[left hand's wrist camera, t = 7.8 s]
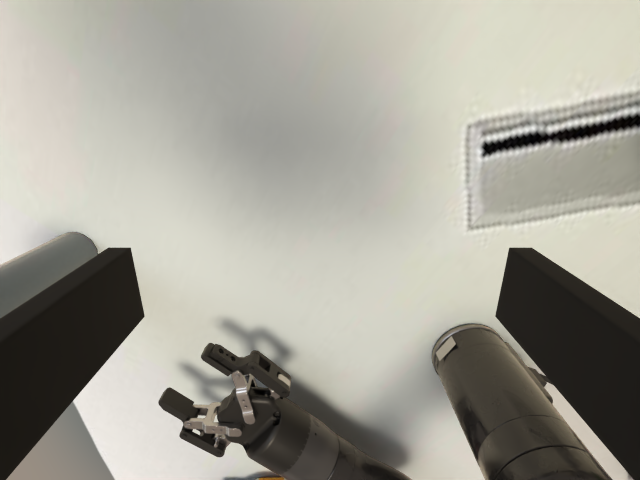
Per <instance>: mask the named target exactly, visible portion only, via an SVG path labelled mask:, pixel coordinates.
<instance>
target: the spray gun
mask: <svg viewBox="0 0 640 480" xmlns="http://www.w3.org/2000/svg"><path fill="white" fill-rule="evenodd" d="M255 480H286V479H285V478H283V477H280V478H258V479H255Z"/></svg>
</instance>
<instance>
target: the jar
mask: <svg viewBox="0 0 640 480" xmlns="http://www.w3.org/2000/svg"><path fill="white" fill-rule="evenodd" d="M97 255H98V254H97V249H96V247H95V245H94V244H93V242H92V241H91V240H90V239H89V238H88V237H86V236H84V235H82V234H80V233H76V232H68V233H65V234H63V235H60V236H58V237H56V238H54V239H52V240H50V241H48V242H46V243H44V244H42V245H40V246H38V247H36V248H34V249H32V250H30V251H28V252H26V253H24V254H21V255H19V256H17V257H15V258H13V259H11V260H9V261H7V262H5V263H3V264H1V265H0V318H2V317H3V316H5V315H6V314H8V313H9V312H11V311H12V310H14V309H16V308H17V307H19V306H20V305H22V304H23V303H25V302H26V301H28V300H29V299H31V298H32V297H34V296H35V295H37V294H39V293H40V292H42V291H43V290H45V289H46V288H48V287H49V286H51V285H52V284H54V283H55V282H57V281H58V280H60V279H61V278H63V277H65V276H66V275H68V274H69V273H71V272H72V271H74V270H75V269H77V268H78V267H80V266H81V265H83V264H84V263H86V262H88V261H89V260H91V259H92V258H94V257H95V256H97Z"/></svg>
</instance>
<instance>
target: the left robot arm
mask: <svg viewBox="0 0 640 480" xmlns="http://www.w3.org/2000/svg"><path fill="white" fill-rule="evenodd" d="M143 318H144V311H143V306H142V301H141V296H140V292H139V287H138V282H137V277H136V272H135V267H134V262H133V257H132V252H131V248H107V249H106V250H104V251H103V252H101V253H100V254H98V255H97V256H95V257H94V258H92V259H91V260H89V261H88V262H86V263H84V264H83V265H81V266H80V267H78V268H77V269H75V270H74V271H72V272H71V273H69V274H68V275H66V276H65V277H63V278H61V279H60V280H58V281H57V282H55V283H54V284H52V285H51V286H49V287H48V288H46V289H45V290H43V291H42V292H40V293H39V294H37V295H35V296H34V297H32V298H31V299H29V300H28V301H26V302H25V303H23V304H22V305H20V306H19V307H17V308H16V309H14V310H12V311H11V312H9V313H8V314H6V315H5V316H3V317H2V318H0V480H6V479H7V478H8V476H9V475H10V474H11V473H12V472H13V471H14V469H15V468H16V467H17V466H18V465H19V464H20V462H21V461H22V460H23V459H24V458H25V456H26V455H27V454H28V453H29V452H30V451H31V449H32V448H33V447H34V446H35V445H36V444H37V442H38V441H39V440H40V439H41V438H42V436H43V435H44V434H45V433H46V432H47V431H48V429H49V428H50V427H51V426H52V425H53V424H54V422H55V421H56V420H57V419H58V418H59V416H60V415H61V414H62V413H63V412H64V411H65V409H66V408H67V407H68V406H69V405H70V404H71V402H72V401H73V400H74V399H75V398H76V396H77V395H78V394H79V393H80V392H81V391H82V389H83V388H84V387H85V386H86V385H87V383H88V382H89V381H90V380H91V379H92V378H93V376H94V375H95V374H96V373H97V372H98V371H99V369H100V368H101V367H102V366H103V365H104V363H105V362H106V361H107V360H108V359H109V358H110V356H111V355H112V354H113V353H114V352H115V351H116V349H117V348H118V347H119V346H120V345H121V343H122V342H123V341H124V340H125V339H126V338H127V336H128V335H129V334H130V333H131V332H132V331H133V329H134V328H135V327H136V326H137V325H138V323H139V322H140V321H141V320H142V319H143ZM496 318H497V319H498V320H499V321H500V322H501V323H502V325H503V326H504V327H505V328H506V329H507V331H508V332H509V333H510V334H511V335H512V336H513V338H514V339H515V340H516V341H517V342H518V343H519V345H520V346H521V347H522V348H523V349H524V351H525V352H526V353H527V354H528V355H529V356H530V358H531V359H532V360H533V361H534V362H535V363H536V365H537V366H538V367H539V368H540V369H541V371H542V372H543V373H544V374H545V375H546V376H547V378H548V379H549V380H550V381H551V382H552V383H553V385H554V386H555V387H556V388H557V389H558V391H559V392H560V393H561V394H562V395H563V396H564V398H565V399H566V400H567V401H568V402H569V404H570V405H571V406H572V407H573V408H574V409H575V411H576V412H577V413H578V414H579V415H580V416H581V418H582V419H583V420H584V421H585V422H586V424H587V425H588V426H589V427H590V428H591V429H592V431H593V432H594V433H595V434H596V435H597V436H598V438H599V439H600V440H601V441H602V442H603V444H604V445H605V446H606V447H607V448H608V449H609V451H610V452H611V453H612V454H613V455H614V457H615V458H616V459H617V460H618V461H619V462H620V464H621V465H622V466H623V467H624V468H625V469H626V471H627V472H628V473H629V474H630V475H631V477H632V478H633V479H634V480H640V318H638V317H637V316H635V315H634V314H632V313H631V312H629V311H628V310H626V309H624V308H623V307H621V306H620V305H618V304H617V303H615V302H614V301H612V300H611V299H609V298H608V297H606V296H605V295H603V294H601V293H600V292H598V291H597V290H595V289H594V288H592V287H591V286H589V285H588V284H586V283H585V282H583V281H582V280H580V279H579V278H577V277H575V276H574V275H572V274H571V273H569V272H568V271H566V270H565V269H563V268H562V267H560V266H559V265H557V264H556V263H554V262H552V261H551V260H549V259H548V258H546V257H545V256H543V255H542V254H540V253H539V252H537V251H536V250H534V249H533V248H509V252H508V257H507V262H506V267H505V272H504V277H503V282H502V287H501V292H500V296H499V301H498V306H497V311H496Z"/></svg>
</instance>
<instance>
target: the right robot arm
mask: <svg viewBox="0 0 640 480" xmlns="http://www.w3.org/2000/svg"><path fill="white" fill-rule="evenodd" d="M201 358H202V360H203V361H205V362H206V363H208V364H210V365H211V366H213V367H214V368H216V369H217V370H219V371H220V372H222V373H224V374H225V375H227V376H229V375H230V374H232V379H233V381H234V384H235V387H236V388H235V389H234V390H233V391H232V393H231V395H230V396H228V397H226V398H225V399H224V400H223V401H222V402H221V403H218V402H213V403H211V404H210V405H193V403H194V402H193V401H192V400H190V399H188V398H187V397H185V396H183V395H182V394H180V393H178V392H177V391H175V390H174V389H172V388H167V389H166V390H165V391H164V393H163V394H162V396H161V398H160V400H159V405H160V406H161V407H162V409H163V410H165V411H166V412H168V413H170V414H172V415H173V416H175V417H177V418H178V419H180V420H182V422H183V428H182V431H181V433H180V438H181V439H183V440H185V441H187V442H189V443H191V444H193V445H195V446H197V447H199V448H201V449H203V450H205V451H207V452H209V453H211V454H213V455H214V456H216V457H222V456H223V455H224V452H225V449H226V447H227V446H228V445H229V444H230V443H231V442H234V443H239V444H241V445H242V446H243V447H244V449H245V451H246V453H247V455H248V457H249V458H251V459H252V460H254V461H256V462H257V463H259V464H261V465H262V466H264V467H266V468H268V469H269V470H271V471H273V472H274V473H276V474H278V475H279V476H281V477H283V478H285V479H286V480H412V479H410V478H409V477H408V476H406V475H405V474H403V473H401V472H399V471H398V470H396V469H394V468H392V467H390V466H388V465H386V464H384V463H382V462H380V461H378V460H376V459H374V458H372V457H370V456H368V455H367V454H365V453H363V452H362V451H360V450H359V449H358V448H356V447H355V446H354V445H353V444H351V443H350V442H348V441H347V440H345V439H344V438H342V437H341V436H339V435H338V434H336V433H335V432H333V431H332V430H331V429H330V428H329V427H328V426H326V425H325V424H324V423H323V422H322V421H320V420H319V419H317V418H316V417H314V416H313V415H311V414H310V413H308V412H307V411H305V410H304V409H302V408H301V407H299V406H298V405H296V404H295V403H293V402H292V401H290V400H289V399H287V398H286V397H288V396H289V393H290V384H291V376H290V375H289V374H287V373H286V372H285V371H284V370H282V369H281V368H280V367H278V366H277V365H276V364H274V363H273V362H272V361H271V360H269V359H268V358H267V357H265V356H264V355H263V354H261V353H260V352H259V351H256V350H255V351H252V352H251V354H250V355H249V356H246V357H237V356H236V355H234V354H233V353H231V352H230V351H228V350H227V349H225V348H224V347H222V346H221V345H218V344H215V345H214V344H213V343H209V344H208V345H207V346H206V347H205V349H204V351H203V353H202V355H201ZM432 362H433V366H434V368H435V370H436V372H437V374H438V375H439V377H440V379H441V382H442V384H443V386H444V389H445V391H446V393H447V395H448V398H449V400H450V402H451V404H452V407H453V409H454V411H455V413H456V416H457V418H458V420H459V422H460V425H461V427H462V429H463V431H464V434H465V436H466V438H467V440H468V443H469V445H470V447H471V449H472V452H473V454H474V456H475V458H476V461H477V463H478V465H479V467H480V469H481V472H482V474H483V476H484V478H485V480H612V478H611V477H610V476H609V475H608V474H607V473H606V471H605V470H604V469H603V468H602V466H601V465H600V464H599V463H598V461H597V460H596V459H595V458H594V457H593V455H592V454H591V453H590V451H589V450H588V449H587V448H586V446H585V445H584V444H583V443H582V441H581V440H580V439H579V437H578V436H577V435H576V434H575V432H574V431H573V430H572V429H571V428H570V426H569V425H568V424H567V422H566V421H565V420H564V419H563V417H562V416H561V415H560V414H559V412H558V411H557V410H556V408H555V407H554V406H553V405H552V403H553V400H552V397H551V396H550V394H549V393H548V392H547V391H546V389H545V388H544V386H545V385H546V384H547V383H546V382H548V383H551V384H553V383H552V382H551V381H550V380H549V379H548V378H547V377H546V376H544V375H542V374H539V373H538V372H537V371H536V370H535V369H532V368H529V367H527V366H526V365H525V363H524V362H523V361H522V360H521V358H520V357H519V356H518V355H517V353H516V352H515V351H514V350H513V348H512V347H511V346H510V345H509V344H508V343H505V342H504V341H503V340H502V338H501V337H500V336H499V335H498V333H497V332H495V331H494V330H493V329H491V328H489V327H487V326H484V325H478V324H468V325H462V326H459V327H456V328H454V329H452V330H450V331H448V332H447V333H446V334H444V335H443V336H442V337H441V338H440V339H439V340H438V342H437V343H436V345H435V347H434V350H433V353H432ZM254 377H255V378H256V379H258V380H259V381H260V382H262V383H263V384H264V385H266V386H267V387H268V388H261V387H257V384H256V381H255V378H254ZM545 381H546V382H545ZM198 415H204V416H206V417H205V418H197V417H198ZM216 415H217V419H218V421H219V423H218V422H213V421H214V418H215V416H216ZM193 429H196V430H198V431H200V435H198V434H196V433H194V432H192V430H193Z"/></svg>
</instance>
